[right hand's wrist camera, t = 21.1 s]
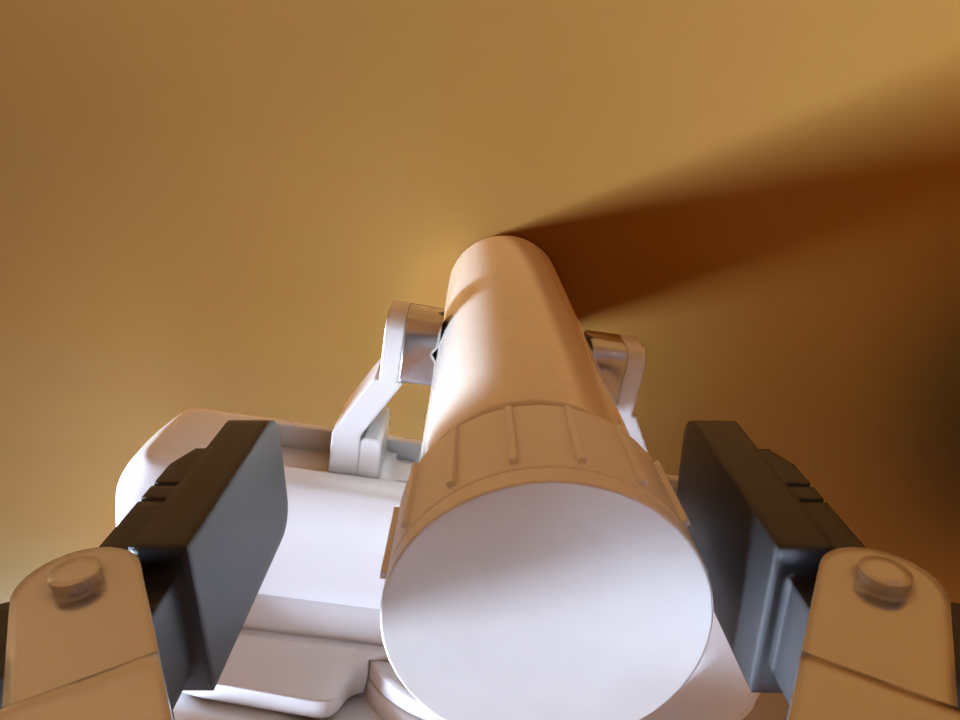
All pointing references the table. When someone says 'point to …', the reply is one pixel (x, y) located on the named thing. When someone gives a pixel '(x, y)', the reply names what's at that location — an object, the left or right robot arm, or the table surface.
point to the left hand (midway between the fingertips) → (515, 323)
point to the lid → (542, 573)
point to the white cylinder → (510, 341)
